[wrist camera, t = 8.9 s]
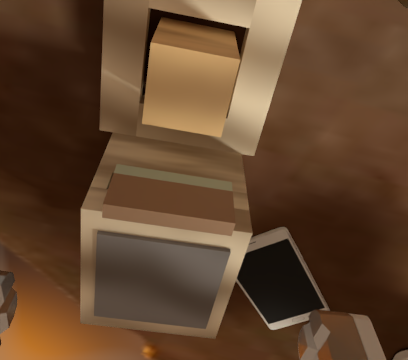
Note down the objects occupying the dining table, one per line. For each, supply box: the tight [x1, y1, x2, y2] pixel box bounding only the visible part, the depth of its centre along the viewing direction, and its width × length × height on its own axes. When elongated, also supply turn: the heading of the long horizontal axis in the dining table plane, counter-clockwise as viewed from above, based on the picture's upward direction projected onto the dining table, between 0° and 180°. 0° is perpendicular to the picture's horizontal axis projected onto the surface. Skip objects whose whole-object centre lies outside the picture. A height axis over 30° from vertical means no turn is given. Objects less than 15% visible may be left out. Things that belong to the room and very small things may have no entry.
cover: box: [102, 164, 236, 236], centre depth 27 cm, size 14×7×4 cm, turn 169°
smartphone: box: [236, 227, 330, 330], centre depth 41 cm, size 8×1×15 cm
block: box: [142, 17, 240, 137], centre depth 25 cm, size 5×5×6 cm
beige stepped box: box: [81, 0, 302, 339], centre depth 26 cm, size 25×12×11 cm, turn 169°
